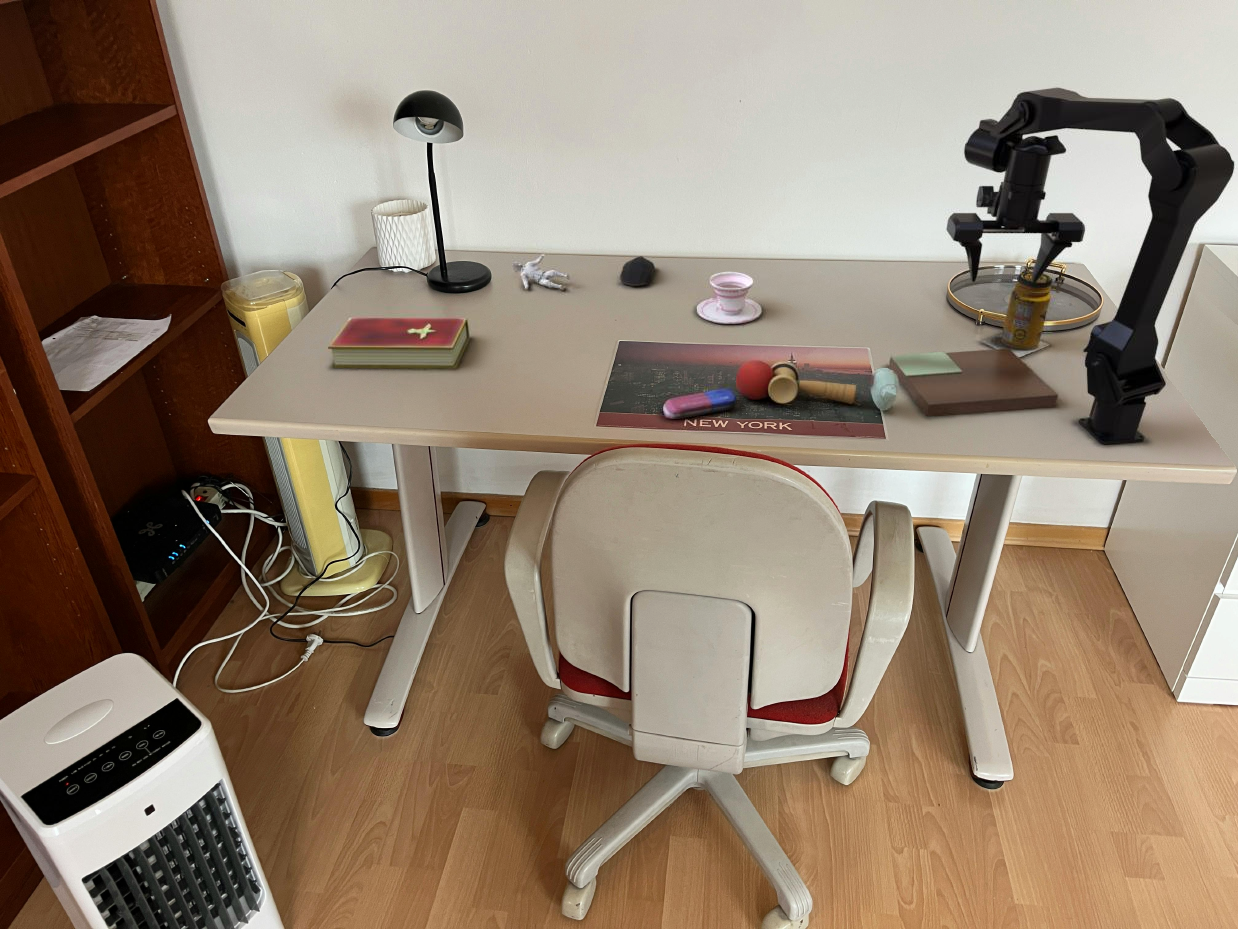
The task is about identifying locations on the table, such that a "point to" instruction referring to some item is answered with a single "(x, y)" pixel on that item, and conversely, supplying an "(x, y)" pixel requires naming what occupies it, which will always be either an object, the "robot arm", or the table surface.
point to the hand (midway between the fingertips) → (1003, 281)
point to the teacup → (730, 300)
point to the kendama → (786, 383)
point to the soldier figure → (538, 274)
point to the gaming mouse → (637, 272)
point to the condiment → (1025, 316)
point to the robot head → (884, 388)
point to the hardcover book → (400, 343)
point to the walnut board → (971, 382)
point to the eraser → (699, 404)
